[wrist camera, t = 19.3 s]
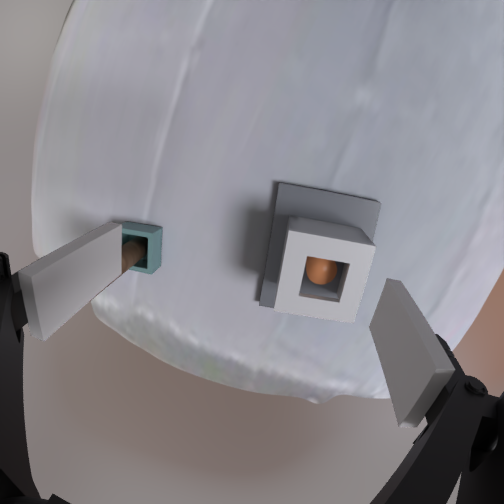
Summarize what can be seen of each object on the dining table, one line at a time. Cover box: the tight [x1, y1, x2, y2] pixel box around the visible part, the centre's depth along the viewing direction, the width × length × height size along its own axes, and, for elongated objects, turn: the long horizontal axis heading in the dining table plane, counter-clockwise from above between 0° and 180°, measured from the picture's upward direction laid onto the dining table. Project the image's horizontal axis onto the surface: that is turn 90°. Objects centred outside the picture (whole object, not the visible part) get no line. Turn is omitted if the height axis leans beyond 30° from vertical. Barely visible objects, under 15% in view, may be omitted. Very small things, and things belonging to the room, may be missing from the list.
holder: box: [122, 222, 162, 274], centre depth 45 cm, size 6×6×4 cm
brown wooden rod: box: [89, 236, 148, 302], centre depth 38 cm, size 3×3×16 cm
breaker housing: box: [259, 182, 381, 323], centre depth 39 cm, size 18×14×9 cm
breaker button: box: [306, 256, 337, 284], centre depth 40 cm, size 4×4×4 cm
